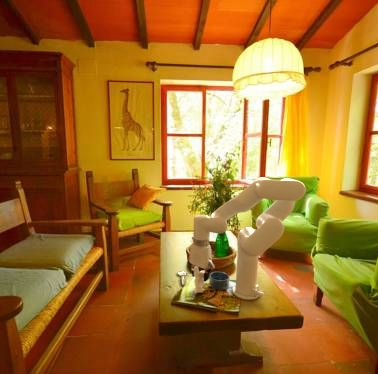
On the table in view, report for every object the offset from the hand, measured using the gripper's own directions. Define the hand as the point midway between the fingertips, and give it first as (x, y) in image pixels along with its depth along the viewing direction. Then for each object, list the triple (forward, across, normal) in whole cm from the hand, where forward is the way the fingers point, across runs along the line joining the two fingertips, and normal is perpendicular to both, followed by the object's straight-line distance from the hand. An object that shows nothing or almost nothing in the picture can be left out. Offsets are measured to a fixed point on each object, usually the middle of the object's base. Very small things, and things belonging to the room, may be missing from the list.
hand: (200, 277), depth 120 cm
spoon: (+7, -14, +4) cm, 16 cm away
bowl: (+7, +4, +11) cm, 13 cm away
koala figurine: (+7, 0, 0) cm, 7 cm away
